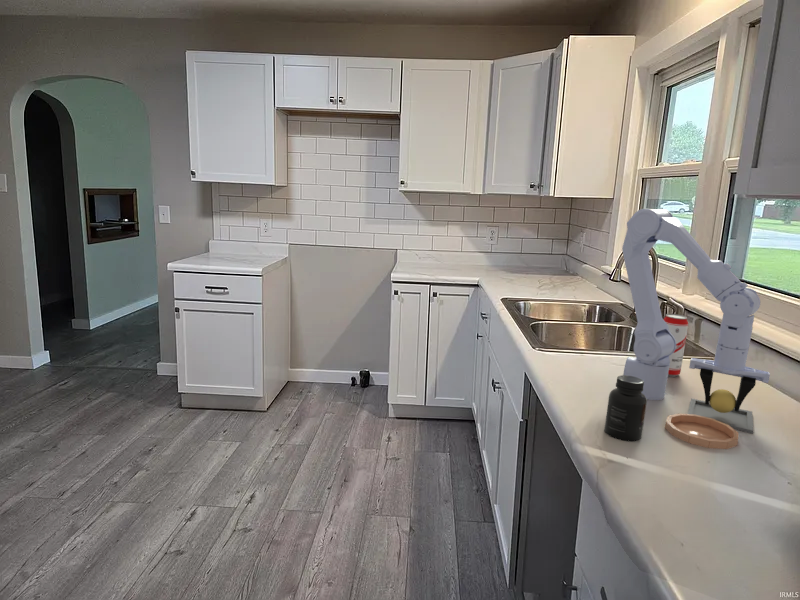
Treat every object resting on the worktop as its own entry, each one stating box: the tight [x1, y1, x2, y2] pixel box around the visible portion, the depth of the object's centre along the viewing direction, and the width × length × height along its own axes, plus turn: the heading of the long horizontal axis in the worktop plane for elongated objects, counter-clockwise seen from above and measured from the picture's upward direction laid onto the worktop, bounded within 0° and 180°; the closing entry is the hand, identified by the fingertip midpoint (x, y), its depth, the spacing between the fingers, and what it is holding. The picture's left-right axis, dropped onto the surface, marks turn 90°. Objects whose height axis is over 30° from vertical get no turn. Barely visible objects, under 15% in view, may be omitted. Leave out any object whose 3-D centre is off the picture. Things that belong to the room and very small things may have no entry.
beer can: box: [663, 313, 689, 378], centre depth 146 cm, size 6×6×16 cm
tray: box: [686, 398, 754, 434], centre depth 119 cm, size 12×12×1 cm
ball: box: [709, 388, 737, 413], centre depth 118 cm, size 5×5×5 cm
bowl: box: [664, 412, 739, 450], centre depth 109 cm, size 13×13×2 cm
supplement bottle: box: [604, 374, 648, 443], centre depth 106 cm, size 7×7×12 cm
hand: (721, 406), depth 118 cm, fingers closed on ball, 5 cm apart
